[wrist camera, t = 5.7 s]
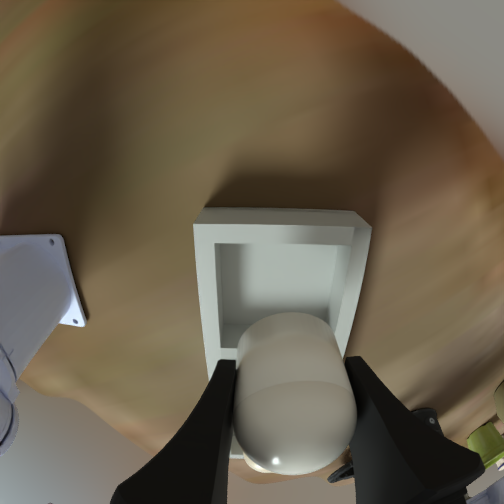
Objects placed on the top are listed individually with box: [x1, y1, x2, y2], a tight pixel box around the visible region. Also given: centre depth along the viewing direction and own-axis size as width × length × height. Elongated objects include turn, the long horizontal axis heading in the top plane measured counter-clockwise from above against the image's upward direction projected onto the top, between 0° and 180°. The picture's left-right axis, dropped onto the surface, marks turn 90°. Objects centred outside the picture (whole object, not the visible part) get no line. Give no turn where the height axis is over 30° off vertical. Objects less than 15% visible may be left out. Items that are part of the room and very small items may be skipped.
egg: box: [233, 312, 357, 475], centre depth 10 cm, size 4×4×6 cm
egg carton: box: [193, 207, 372, 473], centre depth 19 cm, size 9×25×6 cm, turn 179°
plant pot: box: [467, 422, 504, 470], centre depth 29 cm, size 9×9×9 cm
